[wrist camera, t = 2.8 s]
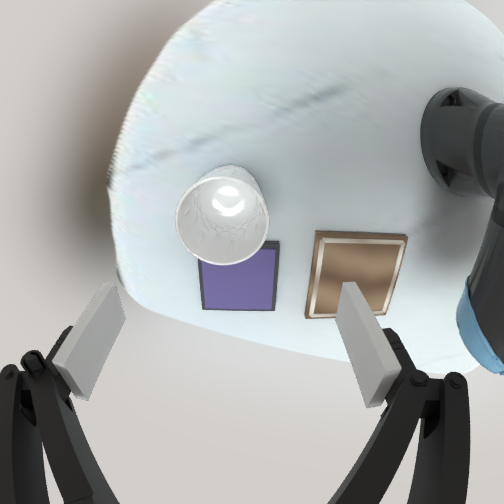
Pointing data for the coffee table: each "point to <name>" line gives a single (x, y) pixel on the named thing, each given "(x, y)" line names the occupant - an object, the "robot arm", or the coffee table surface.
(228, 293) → the ink pad
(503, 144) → the robot arm
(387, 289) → the brown square coaster
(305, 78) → the coffee table surface
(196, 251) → the white cup
